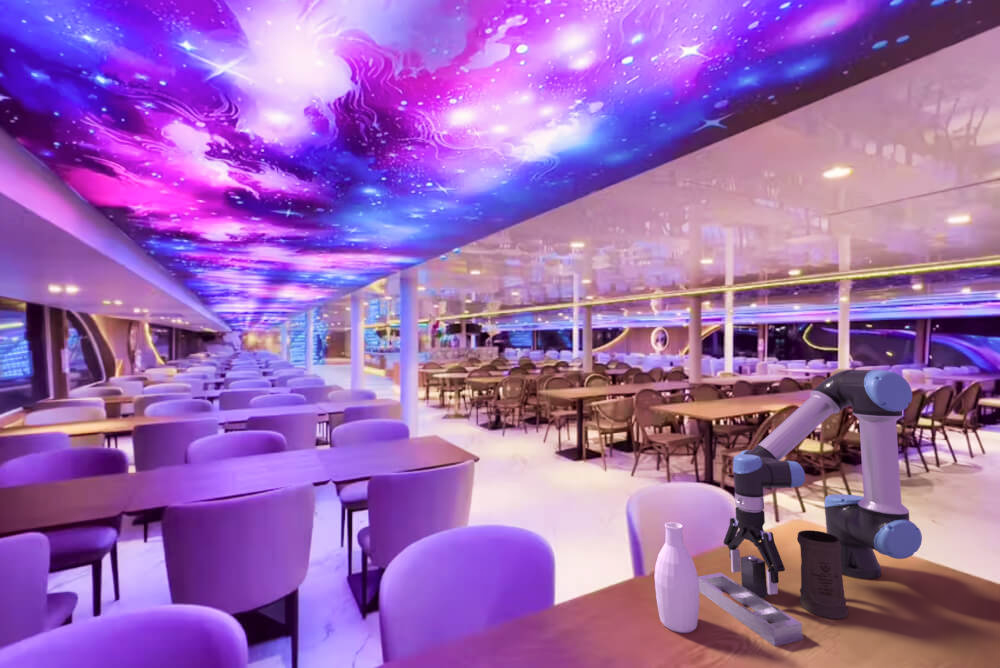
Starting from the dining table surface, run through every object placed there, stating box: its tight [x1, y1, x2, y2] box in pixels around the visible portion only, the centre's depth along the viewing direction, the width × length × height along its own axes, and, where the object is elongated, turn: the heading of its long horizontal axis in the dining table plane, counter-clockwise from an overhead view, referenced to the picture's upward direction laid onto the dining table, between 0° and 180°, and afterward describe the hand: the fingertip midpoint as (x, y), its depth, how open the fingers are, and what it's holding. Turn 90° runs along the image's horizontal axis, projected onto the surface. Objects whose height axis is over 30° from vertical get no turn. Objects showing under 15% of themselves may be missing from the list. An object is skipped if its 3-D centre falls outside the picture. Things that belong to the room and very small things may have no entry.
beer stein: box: [797, 529, 849, 620], centre depth 126 cm, size 15×11×20 cm
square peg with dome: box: [740, 555, 768, 599], centre depth 132 cm, size 4×4×11 cm
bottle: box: [654, 521, 700, 634], centre depth 119 cm, size 11×11×25 cm
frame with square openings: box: [697, 572, 803, 647], centre depth 122 cm, size 8×28×4 cm, turn 15°
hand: (753, 582), depth 132 cm, fingers open, 13 cm apart
